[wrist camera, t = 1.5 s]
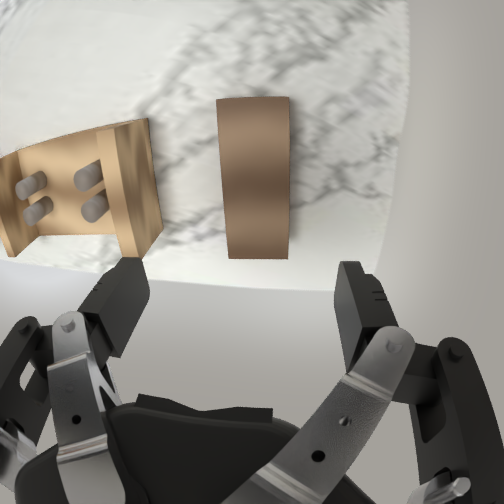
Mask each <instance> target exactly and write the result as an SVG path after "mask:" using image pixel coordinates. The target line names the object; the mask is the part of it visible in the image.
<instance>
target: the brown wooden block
mask: <svg viewBox="0 0 504 504" xmlns="http://www.w3.org/2000/svg"><path fill="white" fill-rule="evenodd" d="M216 106H217V122H218V136H219V150H220V164H221V177H222V189H223V201H224V213H225V224H226V236H227V246H228V257H229V259H288V243H289V188H290V132H289V97H242V98H225V99H217V100H216Z"/></svg>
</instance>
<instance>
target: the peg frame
mask: <svg viewBox="0 0 504 504" xmlns="http://www.w3.org/2000/svg"><path fill="white" fill-rule="evenodd" d="M162 230H163V225H162V219H161V213H160V207H159V201H158V195H157V189H156V182H155V175H154V168H153V161H152V153H151V145H150V136H149V127H148V118H145V119H138V120H133V121H127V122H122V123H116V124H111V125H107V126H102V127H97V128H93V129H89V130H85V131H80V132H77V133H73V134H69V135H65V136H62V137H58V138H55V139H51V140H48V141H45V142H41V143H38V144H35V145H32V146H29V147H26V148H23V149H20V150H18V151H15V152H13V153H10V154H8V155H6V156H4V157H2V158H0V237H1V239H2V242H3V245H4V247H5V250H6V252H7V255H8V257H16V256H17V255H18V254H19V253H21V252H22V251H23V250H24V249H25V248H26V247H27V246H28V245H29V244H30V243H32V242H33V241H34V240H35V239H36V238H37V237H38V236H46V235H89V234H116V235H117V239H118V243H119V246H120V250H121V253H122V257H139V258H141V260H142V259H143V257H144V256H145V254H146V253H147V251H148V250H149V248H150V247H151V245H152V244H153V243H154V241H155V240H156V238H157V237H158V236H159V234H160V233H161V231H162Z"/></svg>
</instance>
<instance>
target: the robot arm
mask: <svg viewBox="0 0 504 504" xmlns="http://www.w3.org/2000/svg"><path fill="white" fill-rule="evenodd" d="M149 296H150V289H149V284H148V281H147V277H146V273H145V270H144V266H143V262H142V260H141V258H139V257H122V258H121V259H120V261H119V262H118V263H117V265H116V266H115V267H114V268H112V269H110V270H109V271H108V272H106V273H105V274H104V275H103V276H102V277H101V278H100V280H99V281H98V282H97V284H96V285H95V286H94V288H93V291H92V290H91V292H90V293H89V295H88V296H87V297H86V299H85V300H84V302H83V303H82V304H81V306H80V307H79V308H78V310H77V311H71V312H67V313H64V314H62V315H61V316H59V317H58V318H57V319H56V321H55V322H54V324H53V325H49V326H40V324H39V323H38V321H37V319H36V318H35V317H32V316H28V317H25V318H22V319H21V320H19V321H18V322H17V323H16V324H15V325H14V327H13V328H12V330H11V331H10V333H9V334H8V336H7V337H6V339H5V340H4V341H3V343H2V345H1V346H0V483H1V484H2V485H4V486H5V487H7V488H8V489H9V490H11V491H12V492H14V493H15V500H16V504H376V503H375V502H374V501H373V500H371V499H370V497H368V496H367V495H366V494H365V493H364V492H363V491H362V490H361V489H360V488H359V487H358V486H357V485H356V484H355V483H354V482H353V481H352V480H351V479H350V478H349V477H348V476H347V475H346V474H345V473H346V472H347V470H348V469H349V467H350V466H351V465H352V463H353V462H354V461H355V459H356V458H357V456H358V455H359V453H360V452H361V450H362V449H363V447H364V446H365V444H366V443H367V441H368V439H369V438H370V436H371V435H372V433H373V431H374V430H375V428H376V427H377V425H378V423H379V421H380V420H381V418H382V416H383V414H384V413H385V411H386V409H387V407H388V406H389V404H390V402H391V401H395V402H400V403H407V404H409V409H410V415H411V420H412V426H413V433H414V439H415V446H416V454H417V462H418V470H419V481H420V486H419V487H418V488H416V489H415V490H414V491H413V492H412V494H411V495H410V497H409V499H408V502H407V504H504V447H503V443H502V439H501V435H500V431H499V427H498V424H497V420H496V417H495V413H494V410H493V407H492V404H491V401H490V398H489V395H488V392H487V389H486V387H485V384H484V381H483V379H482V376H481V373H480V371H479V368H478V366H477V363H476V361H475V358H474V356H473V354H472V352H471V349H470V348H469V346H468V345H467V344H466V343H465V342H463V341H462V340H460V339H458V338H454V337H448V338H445V339H443V340H442V341H440V343H439V345H438V346H437V347H432V346H427V345H421V344H417V343H415V341H414V339H413V337H412V336H411V334H410V333H408V332H407V331H406V330H404V329H402V328H400V327H399V326H398V324H397V321H396V319H395V316H394V313H393V311H392V309H391V306H390V304H389V301H387V297H386V294H385V293H384V290H383V287H382V285H381V283H380V281H379V280H377V279H376V278H375V277H374V276H373V275H372V274H365V273H364V271H363V268H362V266H361V263H360V262H359V261H341V262H340V264H339V268H338V275H337V281H336V287H335V292H334V308H335V313H336V318H337V323H338V328H339V333H340V338H341V344H342V349H343V355H344V360H345V366H346V372H347V373H349V374H347V373H346V374H345V375H344V376H343V377H342V378H341V379H340V381H339V382H338V383H337V385H336V386H335V387H334V389H333V390H332V391H331V393H330V394H329V395H328V396H327V398H326V399H325V400H324V402H323V403H322V404H321V405H320V407H319V408H318V409H317V410H316V412H315V413H314V414H313V415H312V416H311V417H310V419H309V420H308V421H307V422H306V423H305V424H304V426H303V427H302V428H301V429H299V428H298V427H296V426H295V425H293V424H291V423H289V422H286V421H284V420H281V419H277V418H274V417H272V416H273V409H272V408H250V407H233V408H225V409H218V410H209V411H198V410H195V409H193V408H190V407H187V406H185V405H182V404H180V403H177V402H175V401H172V400H170V399H165V398H160V397H154V396H149V395H144V394H138V397H137V400H136V402H132V403H126V404H122V401H121V399H120V397H119V394H118V391H117V388H116V385H115V382H114V379H113V376H112V372H111V369H110V366H109V363H108V362H107V360H108V358H109V356H112V357H117V358H120V357H121V355H122V353H123V351H124V349H125V347H126V345H127V342H128V341H129V338H130V336H131V334H132V332H133V330H134V328H135V326H136V324H137V322H138V320H139V318H140V316H141V314H142V312H143V310H144V308H145V306H146V305H147V303H148V300H149ZM28 361H29V362H30V363H31V364H32V365H33V367H34V368H35V371H34V373H33V375H32V376H31V378H30V380H29V382H28V384H27V386H26V388H25V391H23V389H22V388H21V386H20V376H21V374H22V372H23V371H24V369H25V367H26V365H27V363H28ZM51 409H52V414H53V421H54V426H55V432H56V437H57V441H58V443H57V444H56V445H54V446H52V447H51V448H49V449H48V450H46V451H45V452H43V453H41V454H40V455H37V454H36V446H37V443H38V441H39V438H40V435H41V433H42V430H43V427H44V425H45V422H46V420H47V417H48V415H49V412H50V410H51Z"/></svg>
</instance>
